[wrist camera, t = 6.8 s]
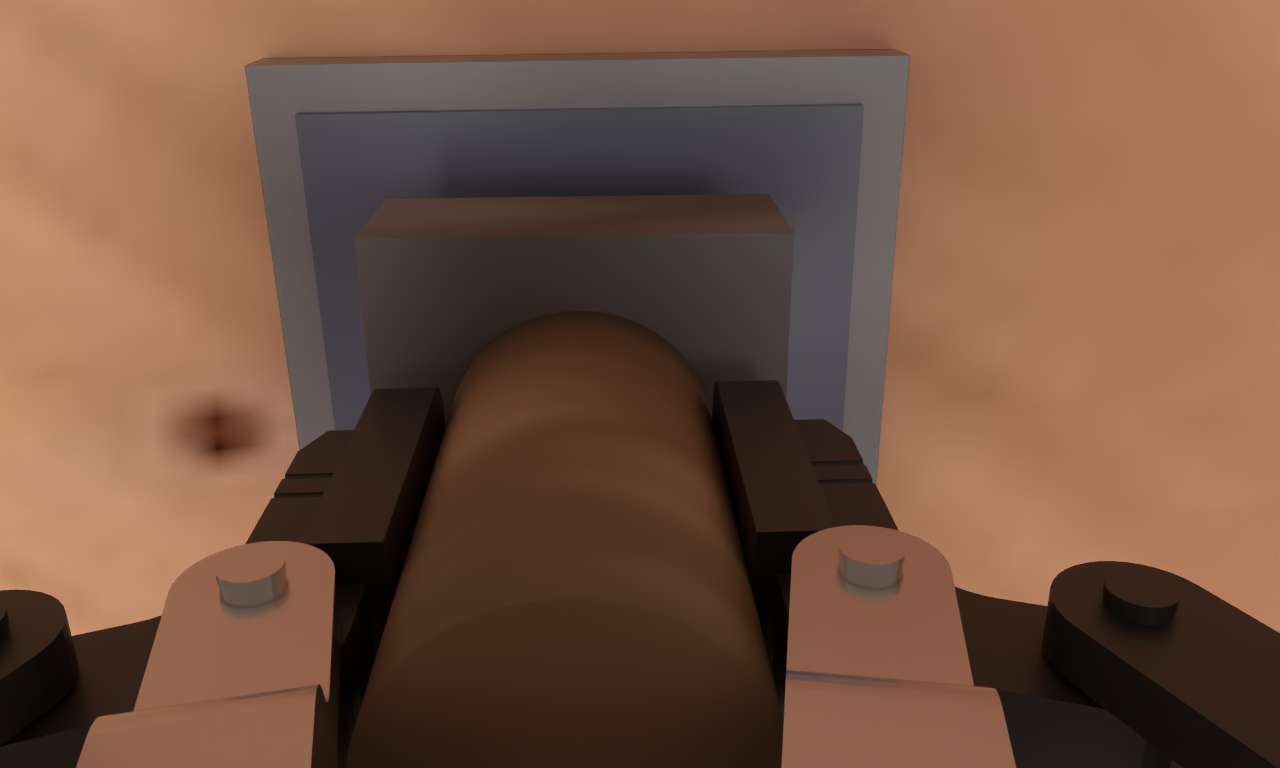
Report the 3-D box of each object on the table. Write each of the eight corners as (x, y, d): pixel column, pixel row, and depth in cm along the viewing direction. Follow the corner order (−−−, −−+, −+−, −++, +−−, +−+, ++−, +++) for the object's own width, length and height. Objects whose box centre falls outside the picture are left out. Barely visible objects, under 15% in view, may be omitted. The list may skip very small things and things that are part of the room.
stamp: (768, 194, 14) (948, 469, 7) (755, 527, 16) (886, 1018, 9) (385, 198, 14) (160, 486, 7) (417, 534, 16) (266, 1042, 9)
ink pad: (894, 49, 18) (913, 56, 17) (861, 492, 21) (875, 524, 20) (263, 58, 17) (240, 67, 16) (324, 505, 20) (308, 539, 19)
